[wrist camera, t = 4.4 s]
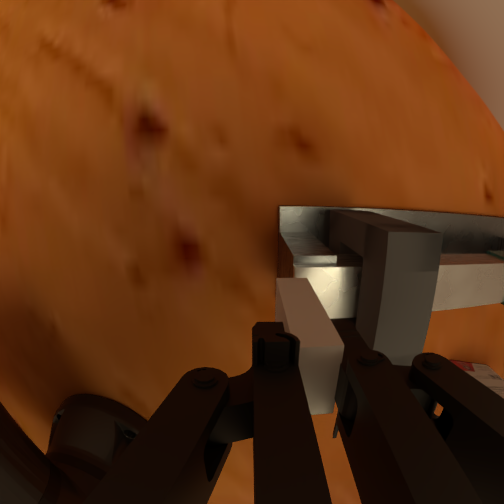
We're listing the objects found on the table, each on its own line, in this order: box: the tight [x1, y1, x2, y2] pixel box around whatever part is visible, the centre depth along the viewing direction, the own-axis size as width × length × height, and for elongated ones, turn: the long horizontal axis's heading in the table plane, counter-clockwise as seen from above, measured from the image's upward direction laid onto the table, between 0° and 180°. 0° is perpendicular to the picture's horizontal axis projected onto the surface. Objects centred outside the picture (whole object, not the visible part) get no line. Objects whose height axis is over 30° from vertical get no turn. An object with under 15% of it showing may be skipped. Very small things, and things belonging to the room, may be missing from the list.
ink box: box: [450, 360, 504, 398], centre depth 24 cm, size 9×5×12 cm, turn 73°
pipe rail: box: [277, 205, 504, 319], centre depth 21 cm, size 26×8×10 cm, turn 90°
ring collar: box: [329, 209, 443, 366], centre depth 18 cm, size 3×8×10 cm, turn 0°
